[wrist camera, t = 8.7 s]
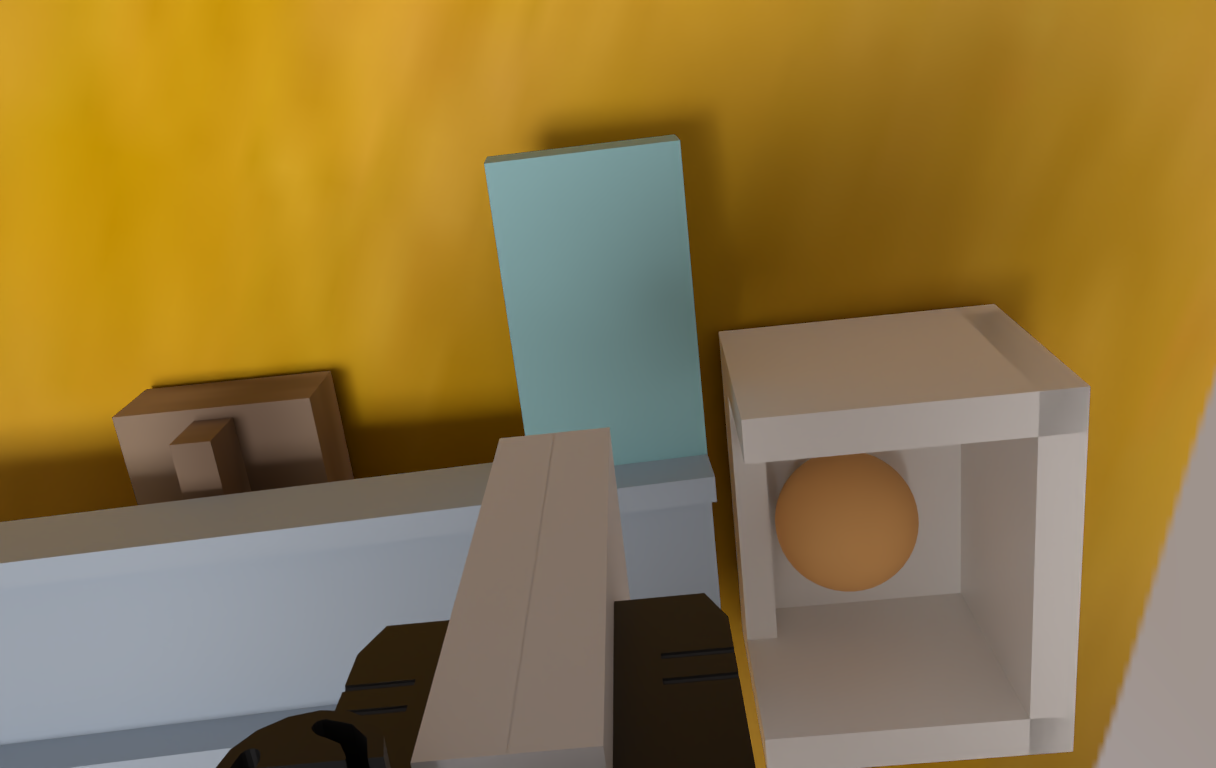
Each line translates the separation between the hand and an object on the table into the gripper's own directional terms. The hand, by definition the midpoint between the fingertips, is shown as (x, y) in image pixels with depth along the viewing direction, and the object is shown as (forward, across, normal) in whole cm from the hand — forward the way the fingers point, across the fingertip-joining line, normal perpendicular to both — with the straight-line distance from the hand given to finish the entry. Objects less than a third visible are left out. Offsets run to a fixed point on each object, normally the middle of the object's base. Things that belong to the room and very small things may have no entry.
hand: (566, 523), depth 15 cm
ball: (+11, +4, -6) cm, 13 cm away
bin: (+13, +7, -6) cm, 16 cm away
